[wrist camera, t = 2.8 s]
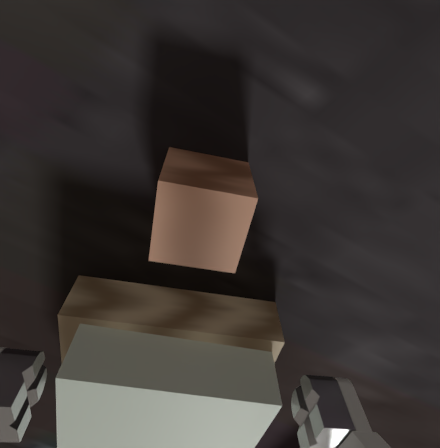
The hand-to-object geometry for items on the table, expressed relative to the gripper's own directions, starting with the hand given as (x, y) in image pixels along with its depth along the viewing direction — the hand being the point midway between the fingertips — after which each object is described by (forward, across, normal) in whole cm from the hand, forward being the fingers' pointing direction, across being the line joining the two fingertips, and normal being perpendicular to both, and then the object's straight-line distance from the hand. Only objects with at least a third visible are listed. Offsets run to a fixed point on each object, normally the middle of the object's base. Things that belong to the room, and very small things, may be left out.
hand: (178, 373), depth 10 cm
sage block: (+9, 0, +17) cm, 19 cm away
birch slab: (+14, 0, +17) cm, 22 cm away
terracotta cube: (+13, -1, 0) cm, 13 cm away
